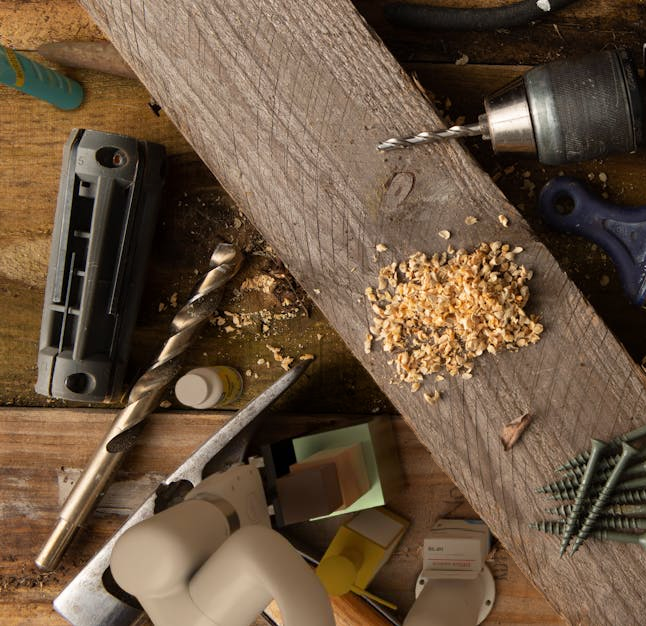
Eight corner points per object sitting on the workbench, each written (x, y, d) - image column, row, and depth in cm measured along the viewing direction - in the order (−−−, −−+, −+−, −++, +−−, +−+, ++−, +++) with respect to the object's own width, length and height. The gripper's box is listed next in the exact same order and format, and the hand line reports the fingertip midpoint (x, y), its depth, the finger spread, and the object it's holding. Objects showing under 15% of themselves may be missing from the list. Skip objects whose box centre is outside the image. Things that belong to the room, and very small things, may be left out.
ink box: (491, 519, 127) (479, 545, 112) (490, 550, 127) (478, 580, 112) (437, 518, 127) (419, 544, 112) (437, 549, 127) (418, 579, 112)
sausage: (133, 51, 119) (154, 34, 124) (16, 34, 119) (41, 18, 124) (145, 89, 124) (165, 71, 128) (33, 73, 124) (56, 56, 128)
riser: (371, 489, 114) (346, 509, 102) (330, 499, 114) (300, 519, 102) (360, 442, 114) (335, 456, 102) (319, 451, 114) (289, 466, 102)
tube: (94, 106, 126) (7, 67, 107) (67, 122, 126) (-25, 86, 107) (69, 66, 126) (-22, 20, 107) (43, 82, 126) (-54, 39, 107)
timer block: (343, 504, 102) (330, 515, 96) (300, 514, 102) (284, 525, 96) (334, 461, 102) (320, 470, 96) (291, 471, 102) (274, 479, 96)
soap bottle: (417, 579, 127) (379, 637, 103) (348, 539, 127) (295, 589, 103) (439, 539, 127) (407, 588, 103) (370, 500, 127) (323, 540, 103)
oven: (337, 501, 127) (309, 521, 114) (321, 427, 127) (292, 439, 114) (405, 486, 127) (385, 504, 114) (389, 412, 127) (367, 423, 114)
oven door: (306, 507, 127) (255, 531, 115) (290, 434, 127) (238, 450, 115) (334, 501, 126) (286, 525, 114) (319, 428, 126) (269, 444, 114)
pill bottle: (240, 407, 126) (207, 415, 115) (201, 399, 126) (165, 407, 115) (248, 369, 126) (216, 373, 115) (209, 361, 126) (174, 365, 115)
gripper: (250, 587, 88) (306, 541, 106) (222, 456, 88) (282, 432, 106) (183, 602, 88) (251, 553, 106) (154, 470, 88) (227, 444, 106)
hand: (266, 492), depth 106 cm, fingers closed
